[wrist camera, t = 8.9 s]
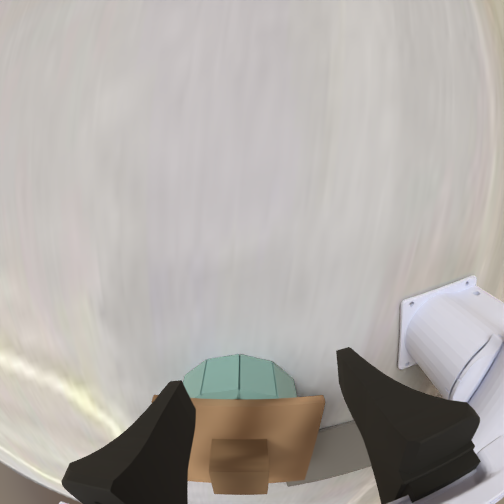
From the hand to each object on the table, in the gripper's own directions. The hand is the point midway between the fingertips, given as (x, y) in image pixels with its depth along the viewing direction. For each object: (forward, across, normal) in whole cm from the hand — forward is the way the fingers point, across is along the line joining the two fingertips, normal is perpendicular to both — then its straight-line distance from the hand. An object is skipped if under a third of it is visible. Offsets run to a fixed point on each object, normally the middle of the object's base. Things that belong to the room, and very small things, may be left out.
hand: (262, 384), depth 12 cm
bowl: (+10, +4, +11) cm, 16 cm away
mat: (+10, -6, +25) cm, 28 cm away
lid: (+6, +4, +13) cm, 15 cm away
